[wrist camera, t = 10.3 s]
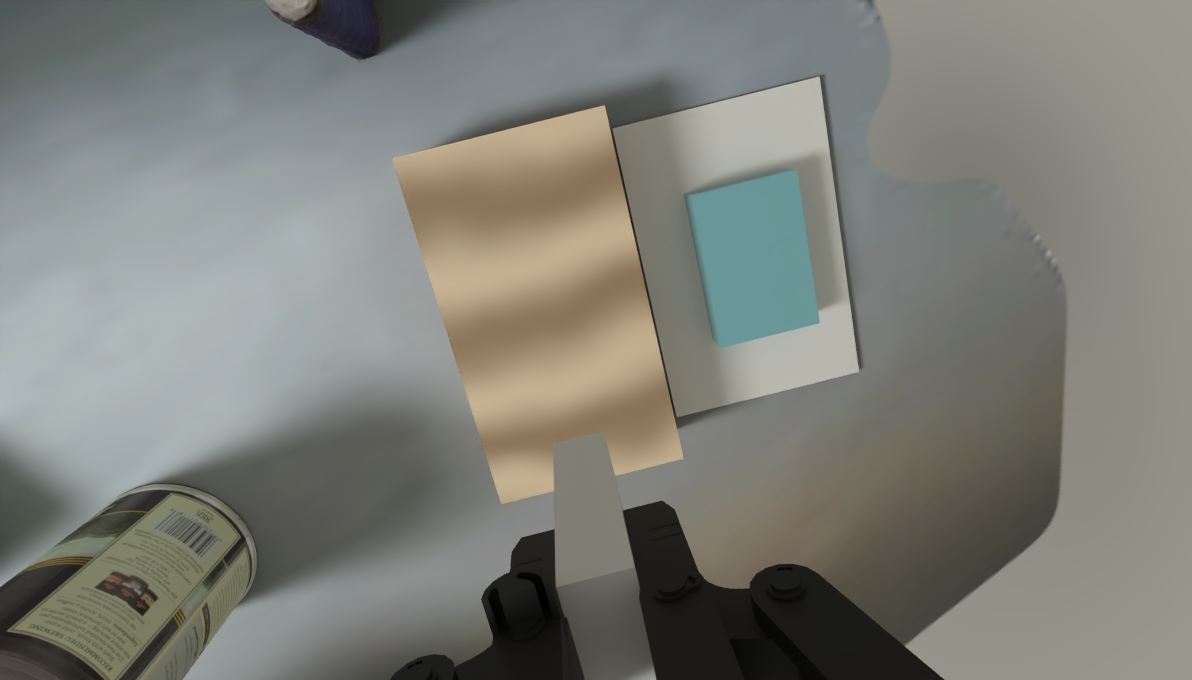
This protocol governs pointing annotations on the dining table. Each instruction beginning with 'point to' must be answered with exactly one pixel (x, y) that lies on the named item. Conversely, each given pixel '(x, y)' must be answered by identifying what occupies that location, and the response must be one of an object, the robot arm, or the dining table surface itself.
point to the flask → (335, 23)
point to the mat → (656, 200)
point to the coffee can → (128, 590)
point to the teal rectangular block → (753, 257)
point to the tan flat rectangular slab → (542, 296)
